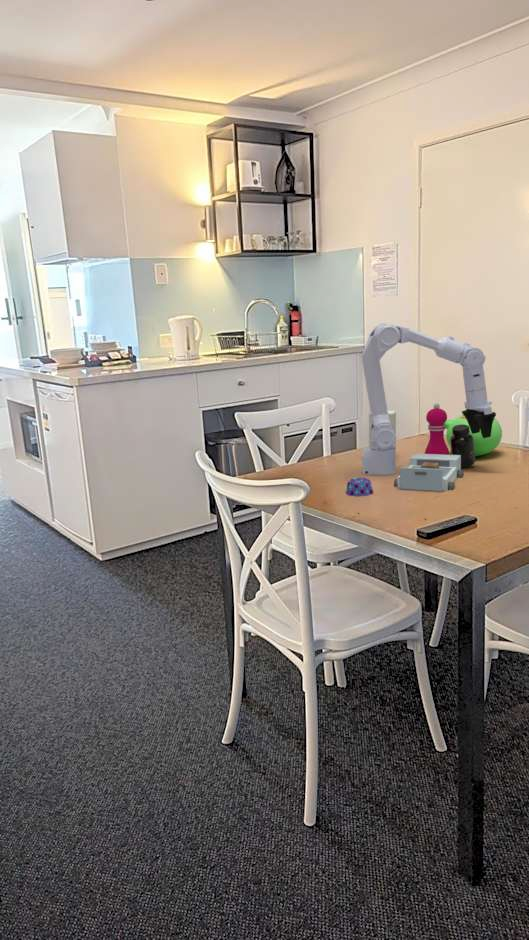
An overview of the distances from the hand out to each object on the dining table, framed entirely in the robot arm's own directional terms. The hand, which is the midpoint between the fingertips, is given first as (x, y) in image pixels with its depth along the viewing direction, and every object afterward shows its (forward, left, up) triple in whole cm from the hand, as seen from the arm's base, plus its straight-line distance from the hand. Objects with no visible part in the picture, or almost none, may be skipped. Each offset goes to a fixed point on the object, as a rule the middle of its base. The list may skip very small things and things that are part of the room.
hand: (481, 435), depth 194 cm
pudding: (-26, -34, -11) cm, 44 cm away
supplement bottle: (-6, +4, -10) cm, 12 cm away
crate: (-11, -18, -9) cm, 23 cm away
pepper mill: (-13, 0, -11) cm, 17 cm away
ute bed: (-11, -18, -11) cm, 24 cm away
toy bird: (-6, +20, -11) cm, 23 cm away
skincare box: (-33, +11, -11) cm, 36 cm away
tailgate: (-11, -29, -6) cm, 32 cm away
